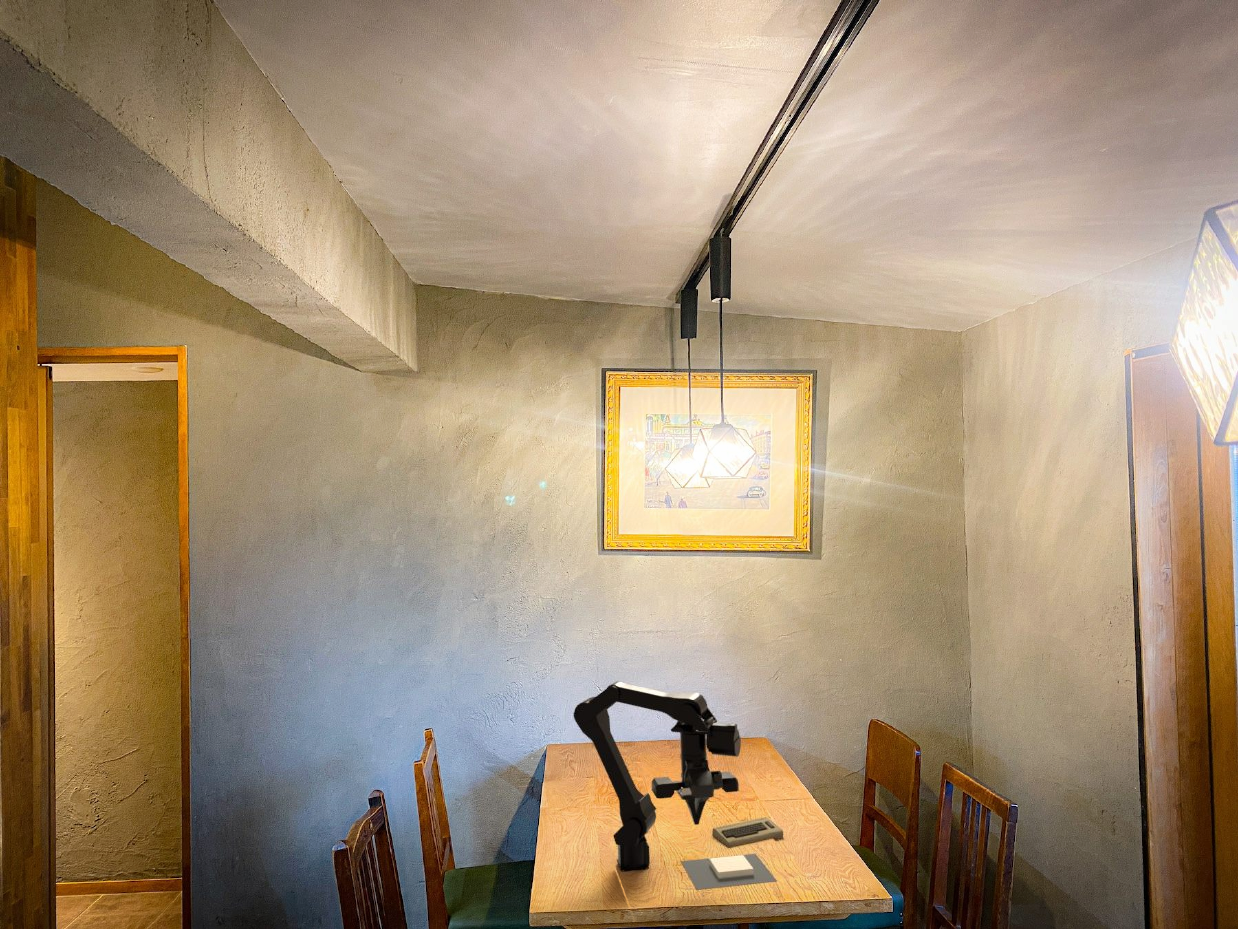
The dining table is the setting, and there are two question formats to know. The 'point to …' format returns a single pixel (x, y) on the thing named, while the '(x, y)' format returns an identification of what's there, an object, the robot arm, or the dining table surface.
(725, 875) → the tile
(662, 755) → the dining table surface
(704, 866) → the mat
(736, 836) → the computer
